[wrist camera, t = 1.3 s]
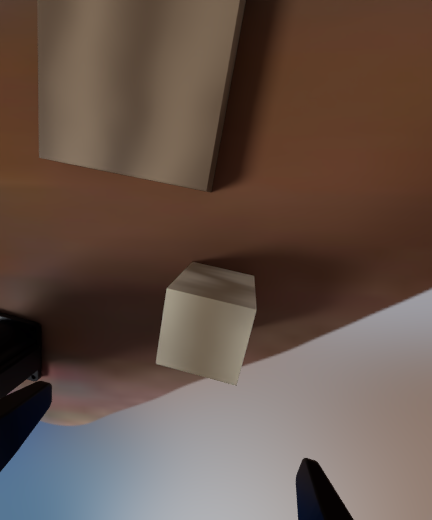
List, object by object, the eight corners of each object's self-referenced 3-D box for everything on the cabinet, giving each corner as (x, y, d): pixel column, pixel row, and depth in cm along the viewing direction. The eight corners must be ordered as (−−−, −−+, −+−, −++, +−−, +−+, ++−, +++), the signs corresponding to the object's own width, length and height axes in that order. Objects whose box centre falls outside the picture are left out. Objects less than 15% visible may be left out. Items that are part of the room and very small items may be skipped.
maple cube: (183, 316, 20) (155, 363, 14) (192, 261, 18) (166, 288, 13) (240, 331, 19) (236, 385, 13) (254, 275, 18) (256, 310, 12)
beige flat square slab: (61, 162, 18) (39, 157, 16) (64, -36, 15) (36, -72, 13) (211, 192, 17) (206, 190, 15) (248, -14, 14) (248, -50, 12)
